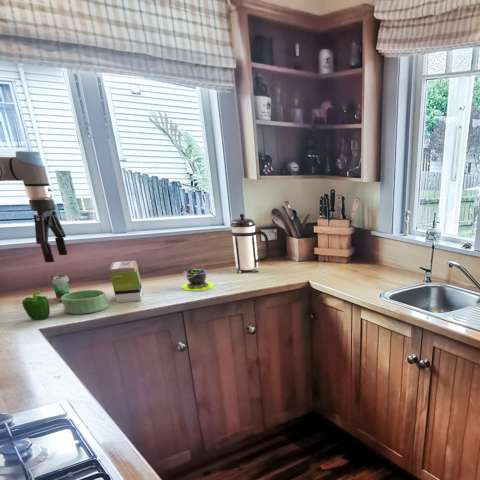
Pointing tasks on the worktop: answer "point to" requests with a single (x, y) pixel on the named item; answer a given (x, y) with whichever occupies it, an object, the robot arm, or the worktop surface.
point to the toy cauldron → (196, 280)
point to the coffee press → (246, 244)
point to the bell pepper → (37, 306)
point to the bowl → (84, 301)
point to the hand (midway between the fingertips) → (57, 258)
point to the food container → (60, 285)
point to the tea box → (126, 281)
